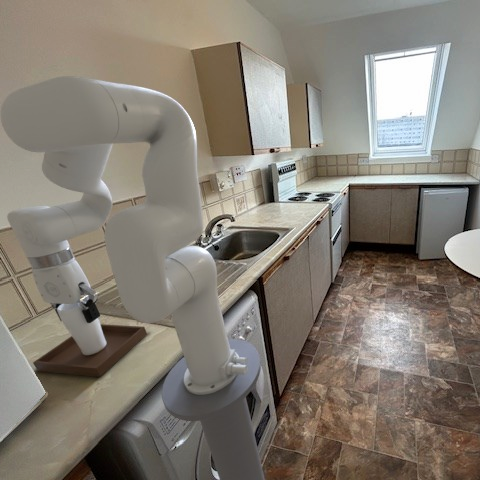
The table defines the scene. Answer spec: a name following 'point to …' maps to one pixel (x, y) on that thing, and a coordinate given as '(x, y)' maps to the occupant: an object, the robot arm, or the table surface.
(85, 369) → the tray
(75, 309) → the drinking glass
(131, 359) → the table surface
